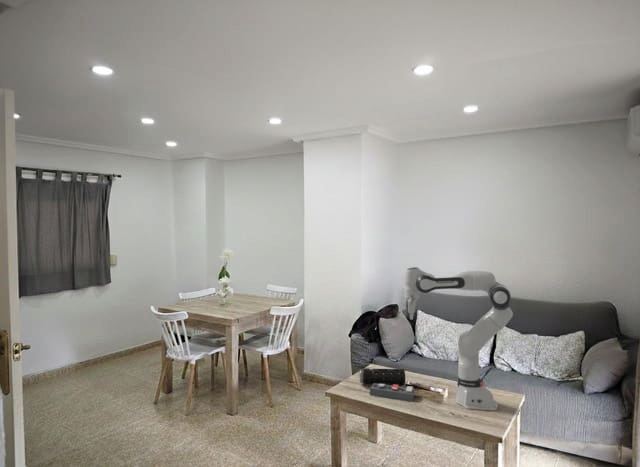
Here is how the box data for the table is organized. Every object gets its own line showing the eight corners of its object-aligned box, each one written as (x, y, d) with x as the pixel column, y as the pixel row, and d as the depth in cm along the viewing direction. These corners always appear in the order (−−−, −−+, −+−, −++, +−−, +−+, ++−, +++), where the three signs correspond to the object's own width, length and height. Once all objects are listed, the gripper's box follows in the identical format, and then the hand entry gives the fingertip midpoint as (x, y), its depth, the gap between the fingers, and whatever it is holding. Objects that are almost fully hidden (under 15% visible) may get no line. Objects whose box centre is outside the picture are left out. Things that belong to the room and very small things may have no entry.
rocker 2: (412, 388, 243) (412, 386, 243) (411, 392, 239) (411, 391, 239) (407, 387, 245) (407, 385, 244) (405, 391, 240) (405, 390, 240)
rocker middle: (398, 386, 246) (398, 384, 246) (397, 390, 242) (397, 389, 242) (393, 385, 248) (393, 384, 248) (391, 389, 243) (391, 388, 243)
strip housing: (414, 395, 245) (414, 388, 245) (412, 401, 237) (412, 394, 237) (373, 389, 254) (373, 382, 254) (369, 394, 246) (369, 388, 246)
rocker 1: (385, 385, 249) (385, 384, 250) (383, 387, 245) (383, 385, 245) (379, 384, 251) (379, 383, 251) (377, 386, 246) (377, 384, 246)
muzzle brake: (405, 388, 257) (405, 371, 257) (360, 387, 258) (360, 371, 257) (402, 382, 266) (402, 366, 266) (359, 382, 267) (359, 366, 267)
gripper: (417, 297, 235) (416, 321, 235) (417, 292, 255) (417, 314, 255) (405, 297, 237) (405, 321, 237) (407, 291, 257) (407, 314, 257)
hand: (411, 317), depth 246 cm, fingers open, 8 cm apart
